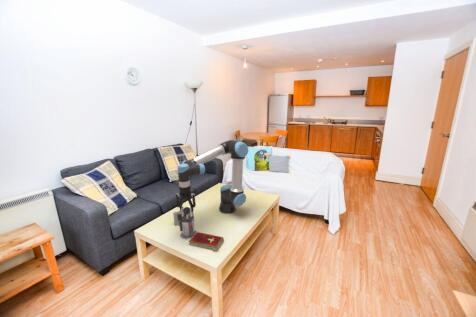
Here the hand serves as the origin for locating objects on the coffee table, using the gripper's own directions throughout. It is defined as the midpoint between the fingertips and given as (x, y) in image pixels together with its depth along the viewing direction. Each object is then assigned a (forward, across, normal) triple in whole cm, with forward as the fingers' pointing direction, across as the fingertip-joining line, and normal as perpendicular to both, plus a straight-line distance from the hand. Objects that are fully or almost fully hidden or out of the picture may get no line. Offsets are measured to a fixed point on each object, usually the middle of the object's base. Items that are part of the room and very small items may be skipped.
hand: (187, 215), depth 158 cm
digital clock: (+16, +8, -16) cm, 25 cm away
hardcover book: (+17, -15, +9) cm, 24 cm away
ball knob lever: (+13, 0, 0) cm, 13 cm away
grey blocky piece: (+15, 0, 0) cm, 15 cm away
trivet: (+16, 0, 0) cm, 16 cm away
